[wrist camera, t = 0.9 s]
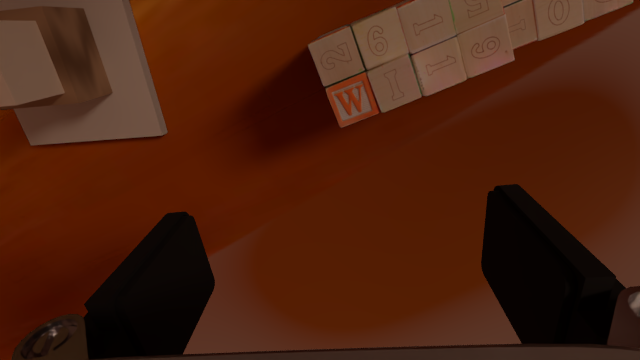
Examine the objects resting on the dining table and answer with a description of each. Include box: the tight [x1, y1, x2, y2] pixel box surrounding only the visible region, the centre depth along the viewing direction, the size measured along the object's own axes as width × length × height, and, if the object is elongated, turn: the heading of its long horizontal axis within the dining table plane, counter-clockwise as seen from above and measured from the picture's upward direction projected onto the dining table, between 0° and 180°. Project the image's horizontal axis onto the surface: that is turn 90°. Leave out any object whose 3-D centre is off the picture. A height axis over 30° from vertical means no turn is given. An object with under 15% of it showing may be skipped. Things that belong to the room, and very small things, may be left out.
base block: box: [0, 6, 113, 110], centre depth 32 cm, size 8×8×5 cm
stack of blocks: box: [308, 0, 633, 128], centre depth 27 cm, size 21×6×12 cm, turn 112°
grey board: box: [0, 0, 167, 145], centre depth 35 cm, size 18×16×1 cm
